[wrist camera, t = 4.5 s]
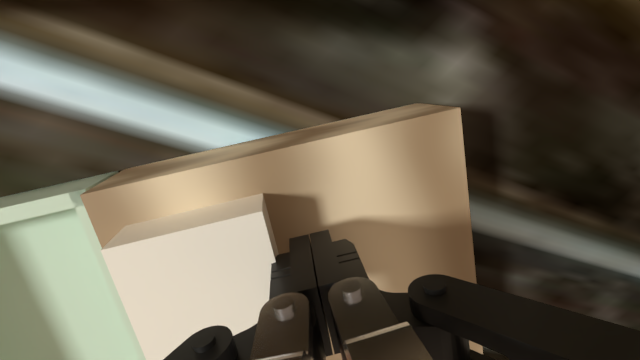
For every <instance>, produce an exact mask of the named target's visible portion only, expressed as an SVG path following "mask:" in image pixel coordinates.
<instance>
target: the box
mask: <svg viewBox="0 0 640 360" xmlns="http://www.w3.org/2000/svg"><path fill="white" fill-rule="evenodd" d="M117 173H118V171H115V172H110V173H106V174H101V175H97V176H93V177H88V178H84V179H79V180H75V181H70V182H66V183H62V184H57V185H53V186H48V187H44V188H39V189H35V190H31V191H26V192H22V193H17V194H13V195H8V196H4V197H0V360H146V358H145V356H144V353H143V351H142V349H141V346H140V344H139V341H138V339H137V337H136V334H135V332H134V330H133V327H132V325H131V322H130V320H129V318H128V315H127V313H126V310H125V308H124V306H123V303H122V301H121V298H120V296H119V294H118V291H117V289H116V286H115V284H114V282H113V279H112V277H111V274H110V272H109V270H108V267H107V265H106V262H105V260H104V258H103V255H102V253H101V251H100V250H101V249H102V247H101V245H100V242H99V240H98V237H97V235H96V233H95V230H94V228H93V226H92V223H91V221H90V218H89V216H88V214H87V211H86V209H85V206H84V204H83V202H82V199H81V197H80V195H81V194H82V193H84V192H86V191H88V190H89V189H91V188H93V187H95V186H96V185H98V184H100V183H101V182H103V181H105V180H107V179H108V178H110V177H112V176H114V175H115V174H117Z"/></svg>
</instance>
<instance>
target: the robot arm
mask: <svg viewBox="0 0 640 360" xmlns="http://www.w3.org/2000/svg"><path fill="white" fill-rule="evenodd" d="M310 240H311V242H310ZM311 246H312V247H311ZM289 249H290V252H287V253H283V254H279V255H277V256H276V262H275V263H271V280H270V294H269V301H268V302H266V303H265V304H264V306H263V307H262V308H261V310H260V314H259V318H258V323H256V324H255V325H254V326H252V327H250V328H249V329H247V330H245V331H242V332H240V333H238V334H236V335H234V336H233V335H232V332H231V330H230V329H229V328H228V327H226V326H220V325H217V326H210V327H207V328H204V329H202V330H200V331H198V332H196V333H194V334H193V335H191V336H190V337H189V338H188V339H186V340H185V341H184V342H183V343H182V344H181V345H179V346H178V347H177V348H176V349H175V350H174V351H172V352H171V353H170V354H169V355H168V356H167V357H165V358H164V359H163V360H326V357H327V356H331V355H333V352H332V346H331V341H332V345H333V349H334V354H338V353H341V357H342V360H495V359H492V358H490V357H488V356H485V355H483V354H481V353H478V352H476V351H474V350H471V349H470V346H469V341H472V342H474V343H477V344H479V345H482V346H484V347H487V348H489V349H491V350H494V351H496V352H499V353H501V354H503V355H505V356H506V357H508V358H509V359H510V360H640V331H638V330H635V329H631V328H628V327H624V326H621V325H617V324H614V323H611V322H607V321H604V320H600V319H597V318H593V317H590V316H586V315H583V314H579V313H576V312H572V311H569V310H565V309H562V308H558V307H555V306H551V305H548V304H544V303H541V302H537V301H534V300H530V299H527V298H523V297H520V296H516V295H513V294H510V293H506V292H503V291H499V290H496V289H492V288H489V287H485V286H482V285H478V284H475V283H471V282H468V281H464V280H461V279H457V278H454V277H450V276H447V275H441V274H429V275H424V276H421V277H419V278H417V279H415V280H413V281H412V282H411V283H410V285H409V287H408V293H391V292H385V291H382V290H379V289H378V287H377V286H376V284H375V283H374V282H373V281H371V280H369V278H368V275H367V273H366V271H365V269H364V266H363V264H362V262H361V259H360V257H359V255H358V253H357V250H356V248H355V246H354V244H353V243H352V242H350V241H348V240H347V239H342V240H338V241H334V242H332V240H331V236H330V233H329V230H323V231H319V232H315V233H310V238H309V234H306V235H302V236H298V237H294V238H289ZM328 328H329V330H328ZM329 333H330V335H329ZM330 337H331V341H330Z"/></svg>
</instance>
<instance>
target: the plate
mask: <svg viewBox="0 0 640 360" xmlns="http://www.w3.org/2000/svg"><path fill="white" fill-rule="evenodd" d="M261 193H263V196H264V200H265V203H266V207H267V211H268V215H269V219H270V223H271V226H272V230H273V234H274V238H275V242H276V245H277V249H278V253H279V254H283V253H287V252H290V249H289V238H294V237H298V236H302V235H306V234H309V238H310V233H315V232H319V231H323V230H329V233H330V236H331V240H332V242H334V241H338V240H342V239H347V240H348V241H350V242H352V243H353V244H354V246H355V248H356V250H357V253H358V255H359V257H360V259H361V262H362V264H363V266H364V269H365V271H366V273H367V275H368V278H369V280H371V281H373V282H374V283H375V284H376V286H377V287H378V289H379V290H382V291H385V292H391V293H408V287H409V285H410V283H411V282H412V281H413V280H415V279H417V278H419V277H421V276H424V275H429V274H441V275H447V276H450V277H454V278H457V279H461V280H464V281H468V282H471V283H475V284H477V282H476V271H475V261H474V250H473V239H472V228H471V217H470V206H469V195H468V185H467V174H466V163H465V152H464V141H463V130H462V120H461V109H460V107H450V106H441V105H431V104H422V103H415V104H411V105H407V106H402V107H398V108H393V109H389V110H384V111H380V112H376V113H371V114H367V115H362V116H358V117H353V118H349V119H345V120H340V121H336V122H331V123H327V124H322V125H318V126H314V127H309V128H305V129H300V130H296V131H292V132H287V133H283V134H278V135H274V136H269V137H265V138H261V139H256V140H252V141H247V142H243V143H238V144H234V145H230V146H225V147H221V148H216V149H212V150H207V151H203V152H199V153H194V154H190V155H185V156H181V157H177V158H172V159H168V160H163V161H159V162H154V163H150V164H146V165H141V166H137V167H132V168H128V169H124V170H122V171H121V172H119V173H117V174H115V175H114V176H112V177H110V178H108V179H107V180H105V181H103V182H101V183H100V184H98V185H96V186H95V187H93V188H91V189H89V190H88V191H86V192H84V193H82V194H81V195H80V197H81V199H82V202H83V204H84V206H85V209H86V211H87V214H88V216H89V218H90V221H91V223H92V226H93V228H94V230H95V233H96V235H97V237H98V240H99V242H100V245H101V247H102V248H103V247H104V246H105V245H106V244H107V243H108V242H109V241H110V240H111V239H112V238H114V237H115V236H116V235H117V234H118V233H119V232H120V231H121V230H122V229H123V228H124V227H125V226H127V225H131V224H135V223H139V222H144V221H148V220H152V219H156V218H160V217H165V216H169V215H173V214H177V213H181V212H186V211H190V210H194V209H198V208H203V207H207V206H211V205H215V204H219V203H224V202H228V201H232V200H236V199H240V198H245V197H249V196H253V195H257V194H261ZM310 242H311V240H310ZM311 247H312V246H311ZM328 330H329V328H328ZM329 335H330V333H329ZM330 341H331V337H330ZM331 346H332V352H333V355H331V356H327V357H326V360H342V357H341V353H338V354H334V349H333V345H332V341H331ZM469 346H470V349H471V350H474V351H476V352H478V353H481V354H483V347H482V345H479V344H477V343H474V342H472V341H469Z"/></svg>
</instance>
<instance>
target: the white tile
mask: <svg viewBox="0 0 640 360" xmlns="http://www.w3.org/2000/svg"><path fill="white" fill-rule="evenodd" d="M100 251H101V253H102V255H103V258H104V260H105V262H106V265H107V267H108V270H109V272H110V274H111V277H112V279H113V282H114V284H115V286H116V289H117V291H118V294H119V296H120V298H121V301H122V303H123V306H124V308H125V310H126V313H127V315H128V318H129V320H130V322H131V325H132V327H133V330H134V332H135V334H136V337H137V339H138V341H139V344H140V346H141V349H142V351H143V353H144V356H145V358H146V360H163V359H164V358H165V357H167V356H168V355H169V354H170V353H171V352H172V351H174V350H175V349H176V348H177V347H178V346H179V345H181V344H182V343H183V342H184V341H185V340H186V339H188V338H189V337H190V336H191V335H193V334H194V333H196V332H198V331H200V330H202V329H204V328H207V327H210V326H217V325H220V326H226V327H228V328H229V329H230V330H231V332H232V335H233V336H234V335H236V334H238V333H240V332H242V331H245V330H247V329H249V328H250V327H252V326H254V325H255V324H256V323H258V318H259V314H260V310H261V308H262V307H263V306H264V304H265V303H266V302H268V301H269V294H270V280H271V263H275V262H276V256H277V255H279V253H278V249H277V245H276V242H275V238H274V234H273V230H272V226H271V223H270V219H269V215H268V211H267V207H266V203H265V200H264V196H263V193H261V194H257V195H253V196H249V197H245V198H240V199H236V200H232V201H228V202H224V203H219V204H215V205H211V206H207V207H203V208H198V209H194V210H190V211H186V212H181V213H177V214H173V215H169V216H165V217H160V218H156V219H152V220H148V221H144V222H139V223H135V224H131V225H127V226H125V227H124V228H123V229H122V230H121V231H120V232H119V233H118V234H117V235H116V236H115V237H114V238H112V239H111V240H110V241H109V242H108V243H107V244H106V245H105V246H104V247H103V248H102V249H101V250H100Z"/></svg>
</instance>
